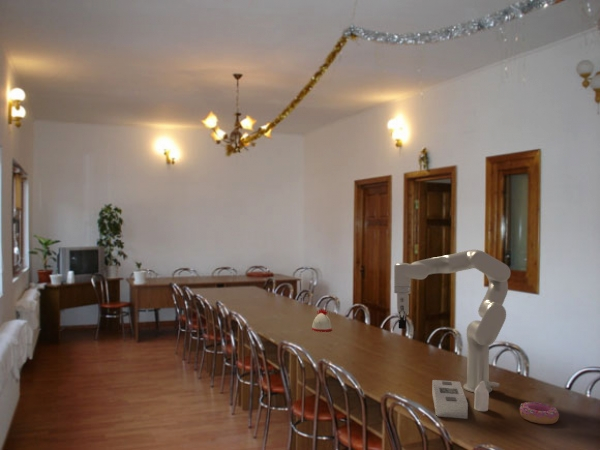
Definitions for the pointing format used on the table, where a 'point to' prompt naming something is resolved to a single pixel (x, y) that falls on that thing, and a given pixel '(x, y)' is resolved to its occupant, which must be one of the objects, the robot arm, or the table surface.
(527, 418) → the donut
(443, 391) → the white block holder
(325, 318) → the cream hat
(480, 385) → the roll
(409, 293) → the robot arm
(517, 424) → the table surface
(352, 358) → the table surface
